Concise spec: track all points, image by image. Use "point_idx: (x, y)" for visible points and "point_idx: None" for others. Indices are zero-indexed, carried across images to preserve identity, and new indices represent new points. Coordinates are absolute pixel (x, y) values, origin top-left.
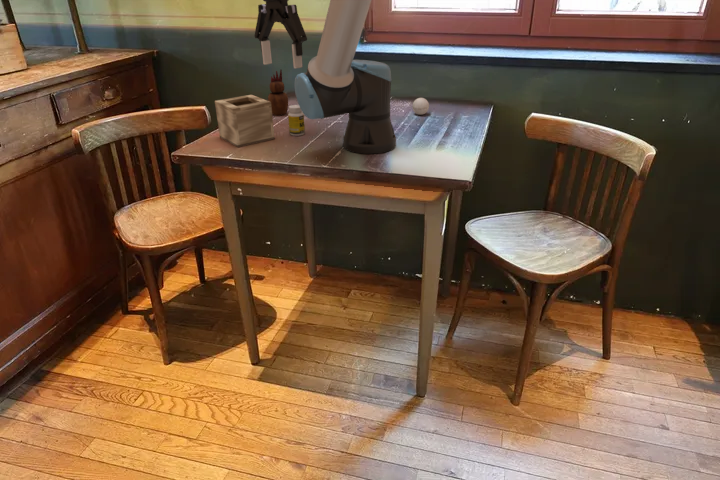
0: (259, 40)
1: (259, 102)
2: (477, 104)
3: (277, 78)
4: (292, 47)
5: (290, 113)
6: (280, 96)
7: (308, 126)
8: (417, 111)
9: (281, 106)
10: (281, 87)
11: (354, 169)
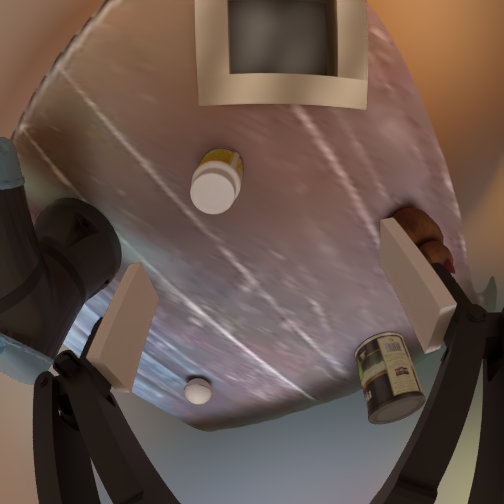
0: (474, 305)
1: (221, 67)
2: (201, 423)
3: None
4: (100, 341)
5: (213, 167)
6: None
7: (262, 219)
8: (192, 380)
9: None
10: None
11: None
